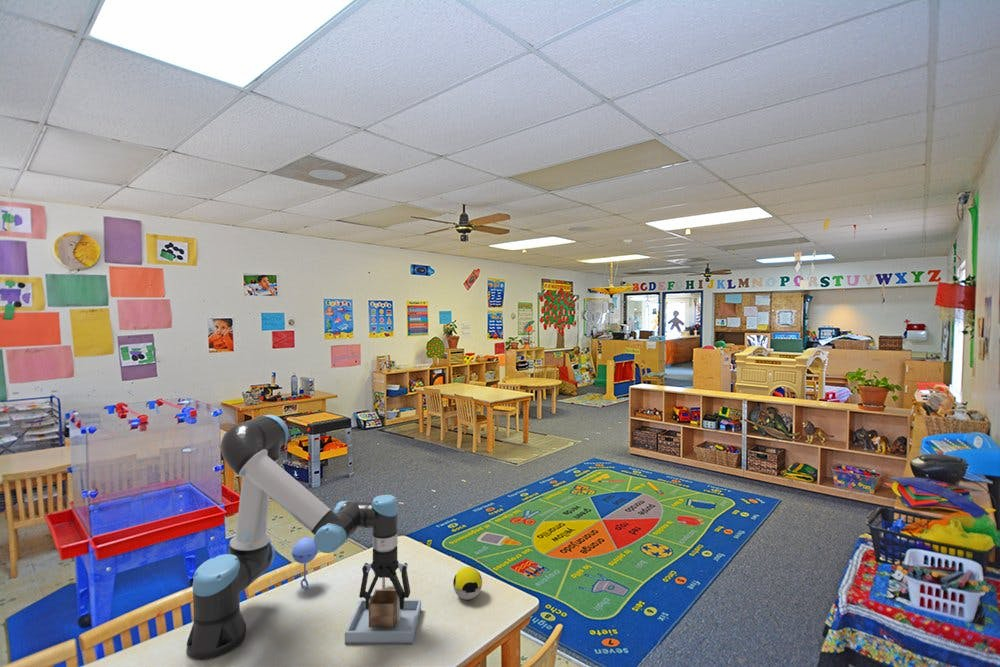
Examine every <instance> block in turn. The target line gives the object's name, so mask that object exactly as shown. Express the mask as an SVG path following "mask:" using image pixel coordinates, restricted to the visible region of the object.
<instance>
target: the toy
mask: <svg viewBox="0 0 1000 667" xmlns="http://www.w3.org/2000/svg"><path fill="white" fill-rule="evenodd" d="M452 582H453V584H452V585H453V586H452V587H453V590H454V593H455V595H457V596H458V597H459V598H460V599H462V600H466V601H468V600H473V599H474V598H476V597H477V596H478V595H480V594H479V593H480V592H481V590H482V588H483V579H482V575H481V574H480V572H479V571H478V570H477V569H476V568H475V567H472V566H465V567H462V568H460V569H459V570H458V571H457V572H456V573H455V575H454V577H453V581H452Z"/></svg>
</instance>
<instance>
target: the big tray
mask: <svg viewBox="0 0 1000 667" xmlns="http://www.w3.org/2000/svg"><path fill="white" fill-rule="evenodd" d="M421 611H422V599H404V607H403V609H401V617H400V620H399V621H397V623H396V626H395V627H369V609H366V600H365V599H359V601H358V604H357V606H356V608H355V610H354V611H353V614H352V616H351V619H350V621H349V622H348V625H347V627H346V629H345V631H344V645H413V644H414V640H415V636H416V632H417V627H418V625H419V620H420V616H421Z"/></svg>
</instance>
